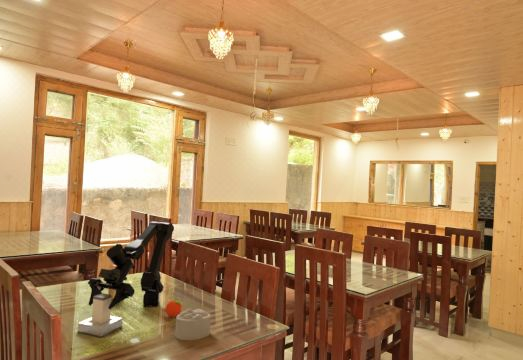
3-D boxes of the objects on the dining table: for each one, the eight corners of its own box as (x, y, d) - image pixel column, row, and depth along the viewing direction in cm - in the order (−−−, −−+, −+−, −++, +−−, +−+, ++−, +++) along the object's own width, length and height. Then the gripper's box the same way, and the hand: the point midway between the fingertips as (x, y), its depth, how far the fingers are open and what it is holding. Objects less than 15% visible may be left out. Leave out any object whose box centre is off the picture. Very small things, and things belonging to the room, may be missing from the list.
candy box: (122, 299, 172) (124, 267, 173) (114, 300, 169) (116, 268, 170) (115, 294, 179) (117, 263, 179) (107, 295, 176) (109, 264, 176)
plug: (99, 325, 138) (102, 293, 139) (109, 327, 137) (111, 294, 137) (91, 329, 134) (93, 296, 134) (100, 331, 133) (103, 298, 133)
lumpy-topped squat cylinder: (213, 335, 137) (214, 312, 137) (182, 343, 128) (184, 319, 128) (199, 326, 144) (200, 304, 145) (169, 333, 136) (171, 310, 136)
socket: (99, 322, 142) (99, 313, 142) (121, 326, 139) (122, 318, 139) (77, 332, 132) (78, 323, 132) (101, 337, 129) (102, 328, 129)
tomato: (186, 315, 155) (187, 299, 155) (178, 321, 149) (179, 304, 149) (170, 312, 157) (171, 296, 158) (161, 318, 151) (162, 301, 151)
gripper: (92, 257, 143) (68, 292, 132) (131, 263, 137) (109, 299, 126) (105, 273, 150) (83, 307, 139) (143, 278, 144) (123, 314, 134)
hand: (99, 306), depth 134 cm, fingers open, 9 cm apart
